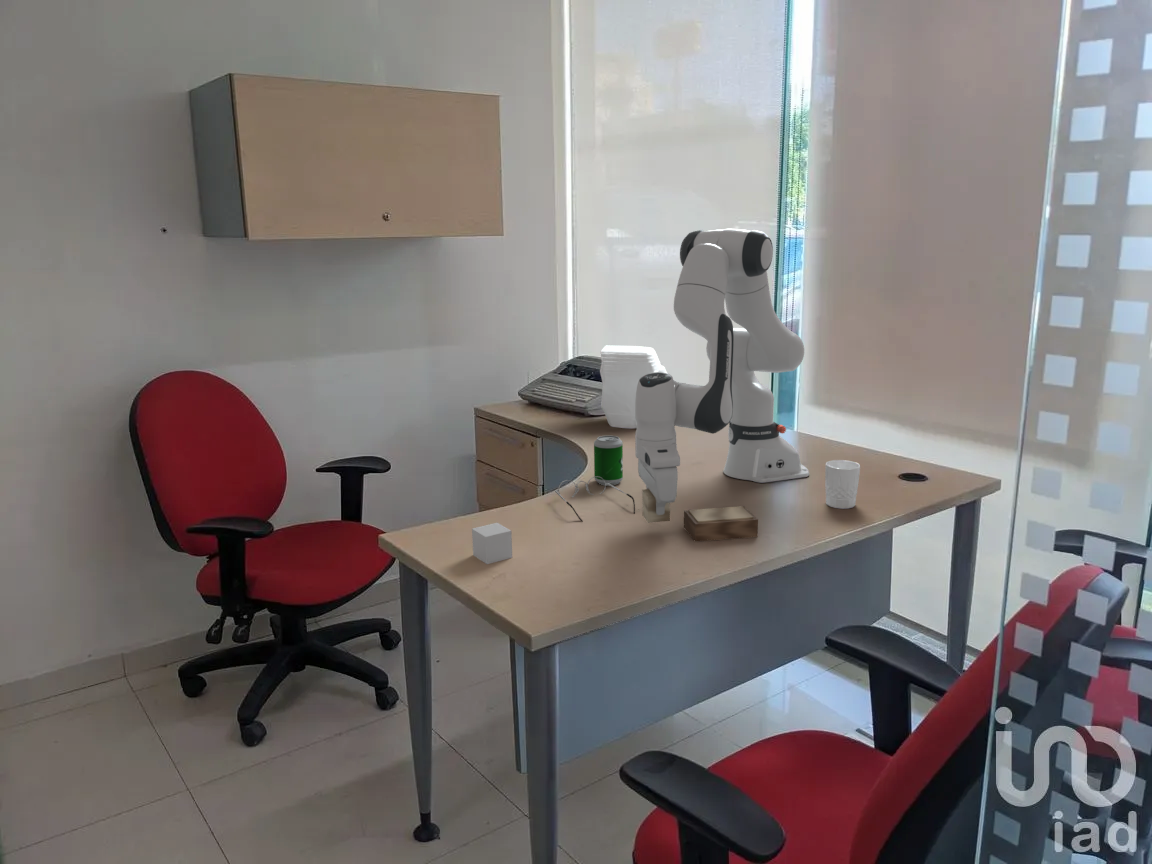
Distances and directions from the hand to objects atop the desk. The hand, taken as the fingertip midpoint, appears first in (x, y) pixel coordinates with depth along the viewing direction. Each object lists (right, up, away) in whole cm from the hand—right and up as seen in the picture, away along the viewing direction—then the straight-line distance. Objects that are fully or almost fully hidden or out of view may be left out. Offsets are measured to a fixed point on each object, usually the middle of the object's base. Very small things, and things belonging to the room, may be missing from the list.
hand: (656, 508), depth 188 cm
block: (0, -2, +1) cm, 2 cm away
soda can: (-9, +3, +37) cm, 38 cm away
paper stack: (+2, +19, +97) cm, 99 cm away
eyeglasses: (-13, -2, +19) cm, 23 cm away
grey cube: (-35, -9, -11) cm, 38 cm away
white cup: (+46, -1, +16) cm, 49 cm away
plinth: (+14, -5, 0) cm, 15 cm away
